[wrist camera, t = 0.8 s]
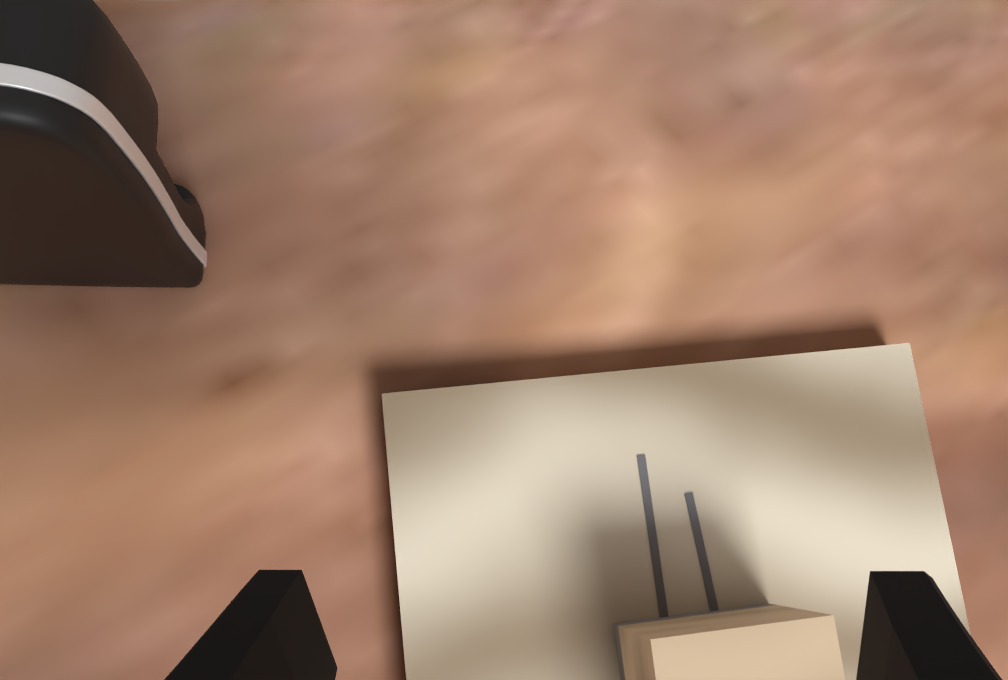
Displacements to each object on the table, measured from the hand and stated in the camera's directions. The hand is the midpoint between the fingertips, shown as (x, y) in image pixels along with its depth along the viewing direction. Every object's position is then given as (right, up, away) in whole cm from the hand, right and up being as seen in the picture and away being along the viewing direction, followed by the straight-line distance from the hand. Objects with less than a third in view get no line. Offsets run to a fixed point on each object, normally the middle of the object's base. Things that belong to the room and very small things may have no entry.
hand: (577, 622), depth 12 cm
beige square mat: (+4, -5, +14) cm, 16 cm away
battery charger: (-13, +7, +16) cm, 22 cm away
